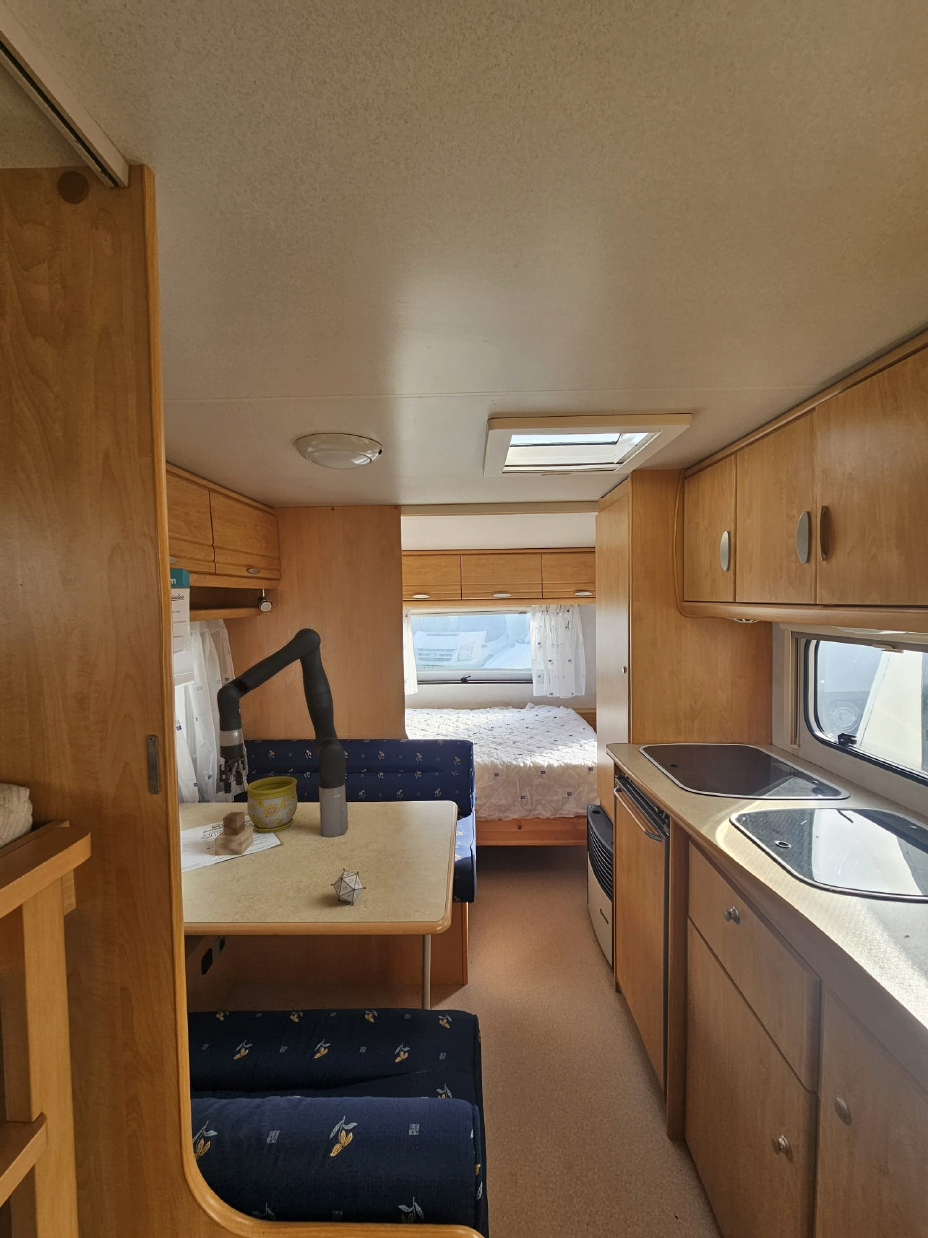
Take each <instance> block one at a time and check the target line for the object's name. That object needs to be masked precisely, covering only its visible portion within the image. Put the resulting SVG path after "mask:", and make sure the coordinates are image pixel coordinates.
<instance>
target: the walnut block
mask: <svg viewBox="0 0 928 1238" xmlns="http://www.w3.org/2000/svg"><path fill="white" fill-rule="evenodd" d="M245 827H246V815H245V811H237V812H236V811H234V812H233V811H232V812H229V813H228V814H226V815H224V817H222V829H223V831H224V835H239V834H240V833H241V832H243V831H244V830H245ZM223 831H222V832H223Z"/></svg>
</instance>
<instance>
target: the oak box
mask: <svg viewBox="0 0 928 1238" xmlns="http://www.w3.org/2000/svg"><path fill="white" fill-rule="evenodd" d="M253 829H254V827H253V826H245V830H244V831H243V832H241V833H240V834H239V835H224V831H222V832H220V833H219V834H218V835H217V836H216V837H215V838H214V854H215V856H217V857H219V856H220V857H221V856H222V857H223V856H243V854H244V853H245V852H247V850H248V849H249V848H251V847H252V845H253V844H254V830H253Z"/></svg>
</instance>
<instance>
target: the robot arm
mask: <svg viewBox="0 0 928 1238" xmlns="http://www.w3.org/2000/svg"><path fill="white" fill-rule="evenodd" d="M321 643H322V639H321V636H320V634H319V633H318V632H317V631H316V630H314V629H313V628H307V627H305V628H301V629H300V630H298V631H297V632H296V633H295V634H294V637H293V638H292V639H290V640H289V641H288V643H286V644H285V645H283V646H282V647H281V648H280V649H278V650H277V651H276V652H273V653H272V654H270V655H269V656H267V657H265V658H264V659H261V660H260V661H259V662H258V661H257V663H255V664H254V665H252V666H250V668H248V669H247V670H245V671H244V672H242V673H241V674H240V675H239V676H237V677H235V678H234V679H232V680H231V681H228V683H226V684H224V685H223V686H221V687H220V688H219V689H218V691H217V694H216V703H217V711H218V715H219V717H218V718H219V719H218V722H219V723H218V724H219V725H218V727H219V736H218V738H219V739H218V741H219V756H220V758H221V759H223V761H224V763H221V764H219V766H218V767H219V769H218V771H219V778H218V779H219V783H223V793H224V794H225V795H227V794H229V795H230V794H231V793H232V779H233V777H234V775H235V777H234V778H235V785H236V786H242V785H243V784H244V783H243V782H244V781H243V779H244V777H243V774H244V771H246V768H247V766H246V757H245V756H246V754H245V750H244V749H245V747H244V745H245V744H244V732H243V724H242V714H241V713H240V699H241V698H243V697H244V696H245V695H247V694H249V693H250V692H251V691H254V690H256V689H257V688H259V687H261V685H264V683H266V682H268V681H269V680H270V679H272V678H273V677H274V676H275V675H277V674H278V673H280V672H282V670H284V669H285V668H287V667H288V666H289V665H291V664H293V663H294V662H297V660H299V661H300V664H301V665H300V666H301V669H302V670H301V671H302V686H303V692H304V693H303V694H304V697H305V702H306V708H307V711H308V714H309V717H310V720H311V723H312V727H313V731H314V736H315V737H314V738H315V744H316V745H315V746H316V757H317V759H318V767H319V769H318V770H319V778H318V792H319V795H318V797H319V816H320V817H319V818H320V819H319V820H320V835H322V836H323V837H325V838H326V837H328V838H332V837H338V836H343V835H345V834H346V833H347V831H348V830H349V818H348V817H349V811H348V802H346V776H347V775H346V774H347V773H346V770H347V769H346V752H345V749H344V747H343V745H342V744H341V743H340V741H339V737H338V736H337V735H338V734H337V730H336V729H335V717H334V699H333V696H332V695H333V693H332V691H331V690H332V689H331V686H330V682H329V680H328V677H327V674H326V671H325V668H324V666H323V662H322V655H321V654H322V653H321V647H320V646H321Z"/></svg>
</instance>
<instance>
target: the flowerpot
mask: <svg viewBox="0 0 928 1238" xmlns="http://www.w3.org/2000/svg"><path fill="white" fill-rule="evenodd" d="M297 783H298V781H297V779H296V778H295V777H293V776H292V777H291V776H283V775H281V776H272V777H265V778H261V779H257V780H254V781H252V782H251V783H249V784H248V785H247V786H246V791H247V815H248V817H249V820H250V821H251V822H252V823H253V826H252V827H253V829H254V830H255V831H256V832H258V833H261V834H270V833H271V834H272V833H276V832H281V831H283V830H286V829H288V828H289V827H290V826H291V825H292V823H293V822H294V818H293V817H294V816H295V814H296V811H297V808H298V795H297V791H296V790H297V786H296V785H297Z"/></svg>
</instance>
